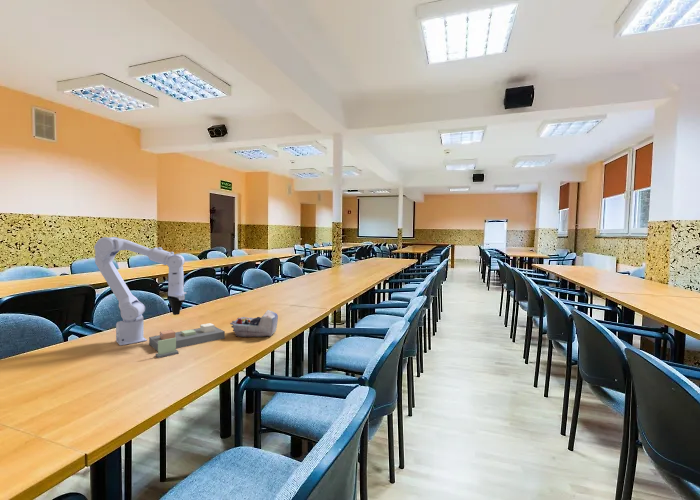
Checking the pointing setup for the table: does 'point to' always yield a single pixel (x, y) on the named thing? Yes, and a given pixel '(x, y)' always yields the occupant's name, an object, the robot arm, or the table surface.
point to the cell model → (256, 325)
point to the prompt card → (166, 348)
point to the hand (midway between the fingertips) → (176, 314)
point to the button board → (190, 338)
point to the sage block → (188, 333)
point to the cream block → (207, 328)
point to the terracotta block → (167, 334)
